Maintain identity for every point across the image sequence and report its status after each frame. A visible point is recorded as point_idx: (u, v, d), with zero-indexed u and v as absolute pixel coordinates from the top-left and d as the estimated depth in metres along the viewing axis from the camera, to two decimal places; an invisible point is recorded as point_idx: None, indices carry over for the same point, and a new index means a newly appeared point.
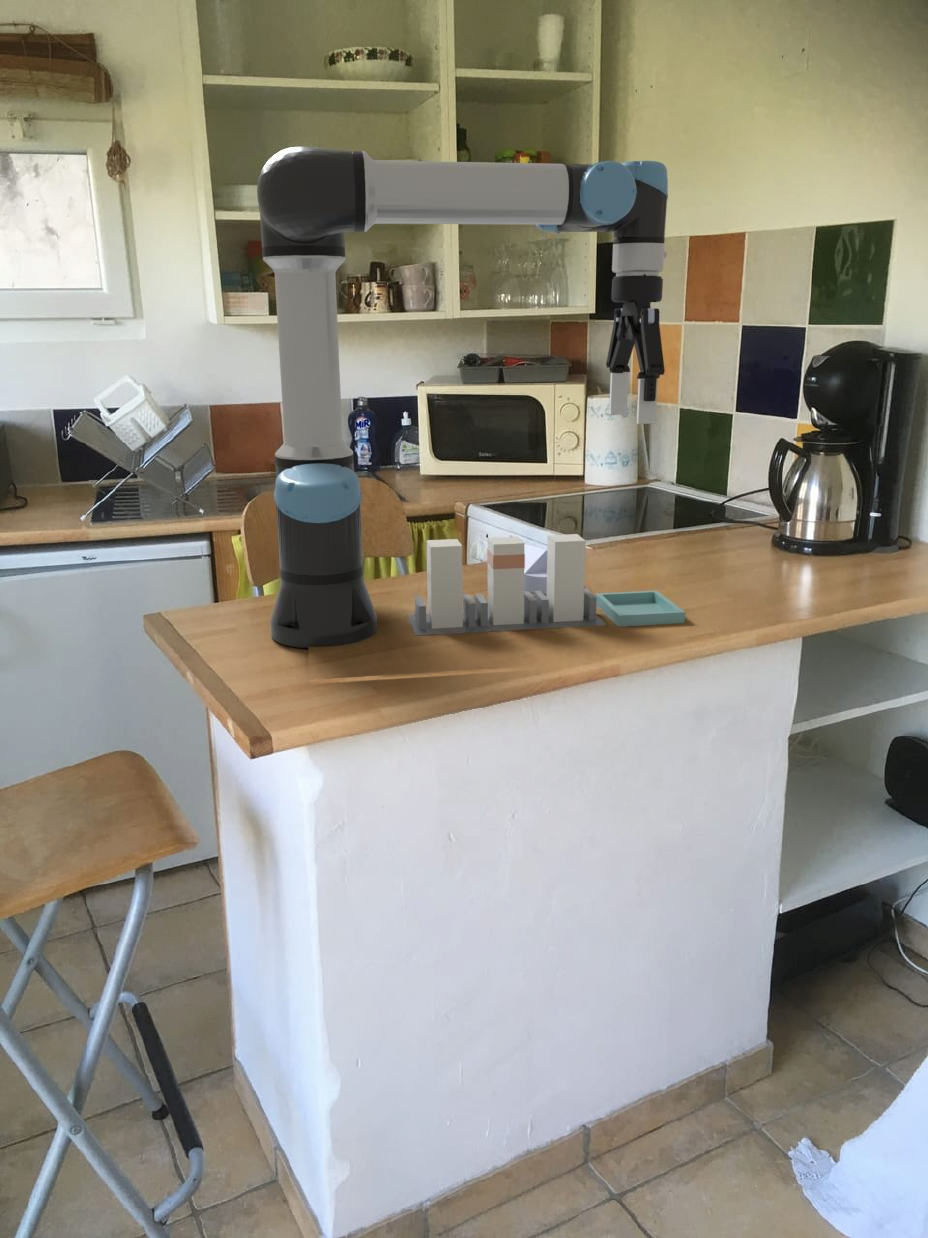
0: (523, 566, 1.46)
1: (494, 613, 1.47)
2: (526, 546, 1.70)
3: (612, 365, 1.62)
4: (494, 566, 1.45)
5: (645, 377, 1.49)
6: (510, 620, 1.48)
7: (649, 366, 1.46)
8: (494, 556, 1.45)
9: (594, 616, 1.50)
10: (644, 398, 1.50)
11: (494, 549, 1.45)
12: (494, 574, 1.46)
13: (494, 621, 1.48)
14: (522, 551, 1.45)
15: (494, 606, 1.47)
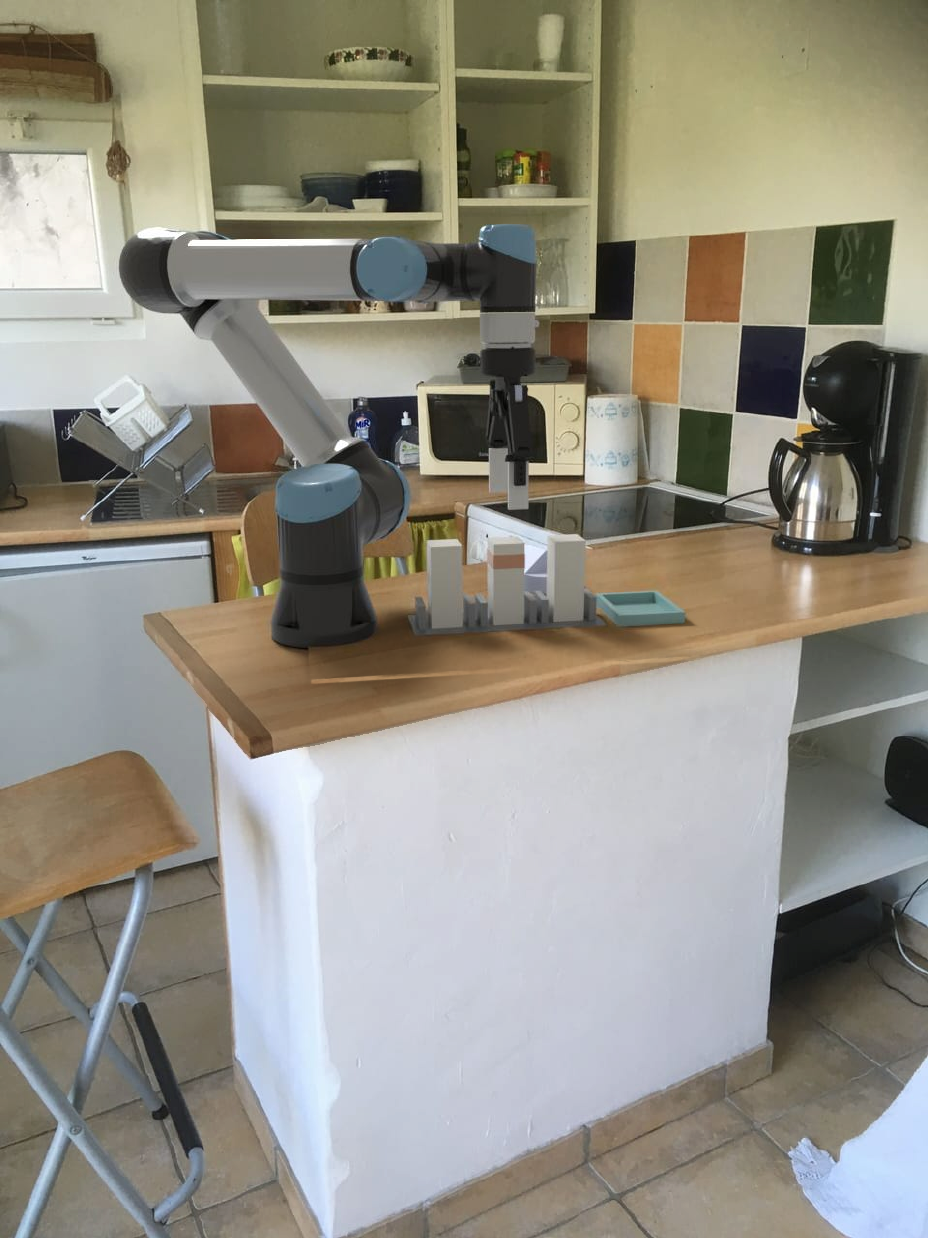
0: (523, 566, 1.46)
1: (494, 613, 1.47)
2: (526, 546, 1.70)
3: (490, 440, 1.49)
4: (494, 566, 1.45)
5: (514, 460, 1.35)
6: (510, 620, 1.48)
7: (516, 449, 1.33)
8: (494, 556, 1.45)
9: (594, 616, 1.50)
10: (514, 482, 1.37)
11: (494, 549, 1.45)
12: (494, 574, 1.46)
13: (494, 621, 1.48)
14: (522, 551, 1.45)
15: (494, 606, 1.47)
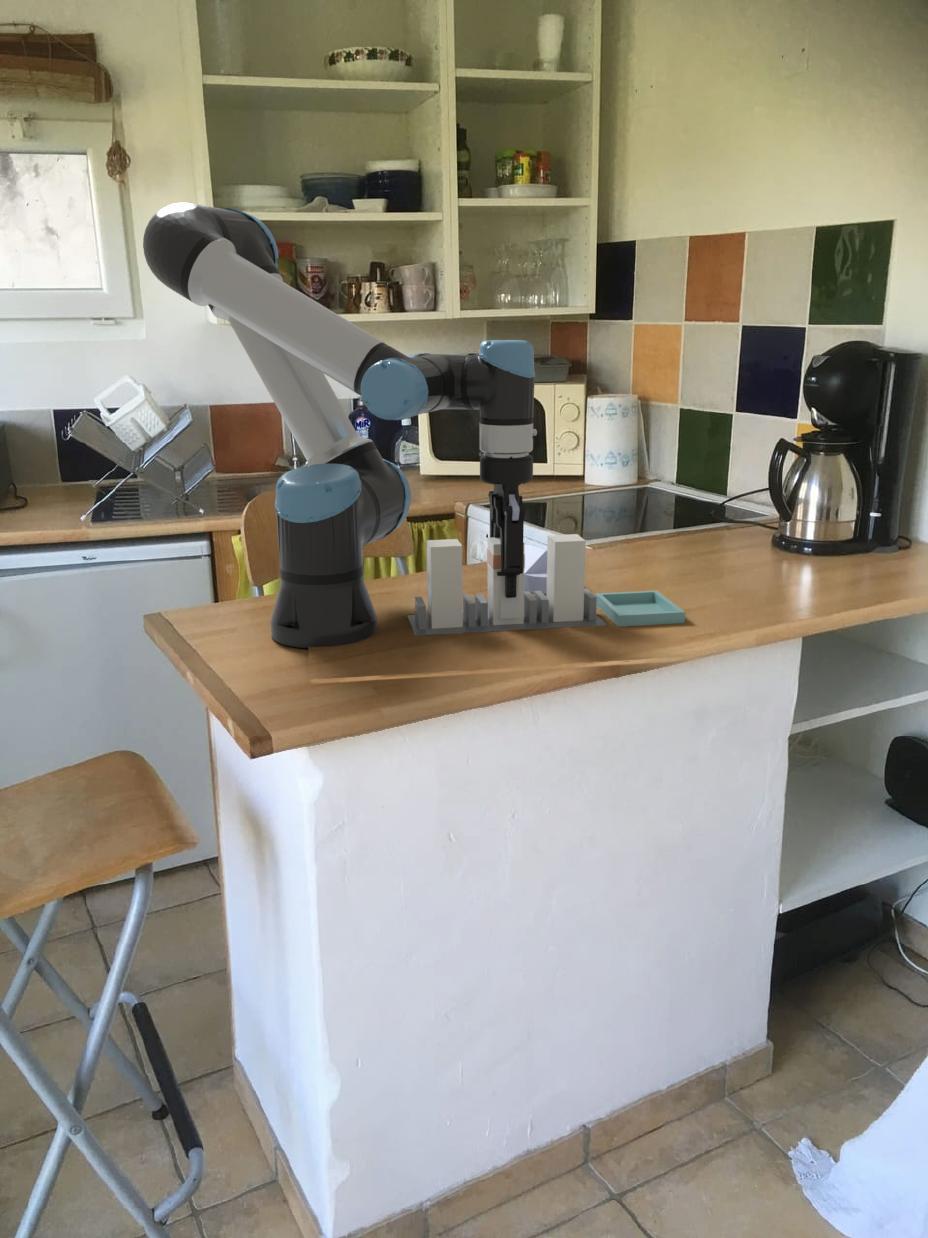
0: (523, 566, 1.46)
1: (494, 613, 1.47)
2: (526, 546, 1.70)
3: None
4: (494, 566, 1.45)
5: (504, 575, 1.44)
6: (510, 620, 1.48)
7: (507, 568, 1.42)
8: (494, 556, 1.45)
9: (594, 616, 1.50)
10: (505, 594, 1.46)
11: (494, 549, 1.45)
12: (494, 574, 1.46)
13: (494, 621, 1.48)
14: None
15: (494, 606, 1.47)
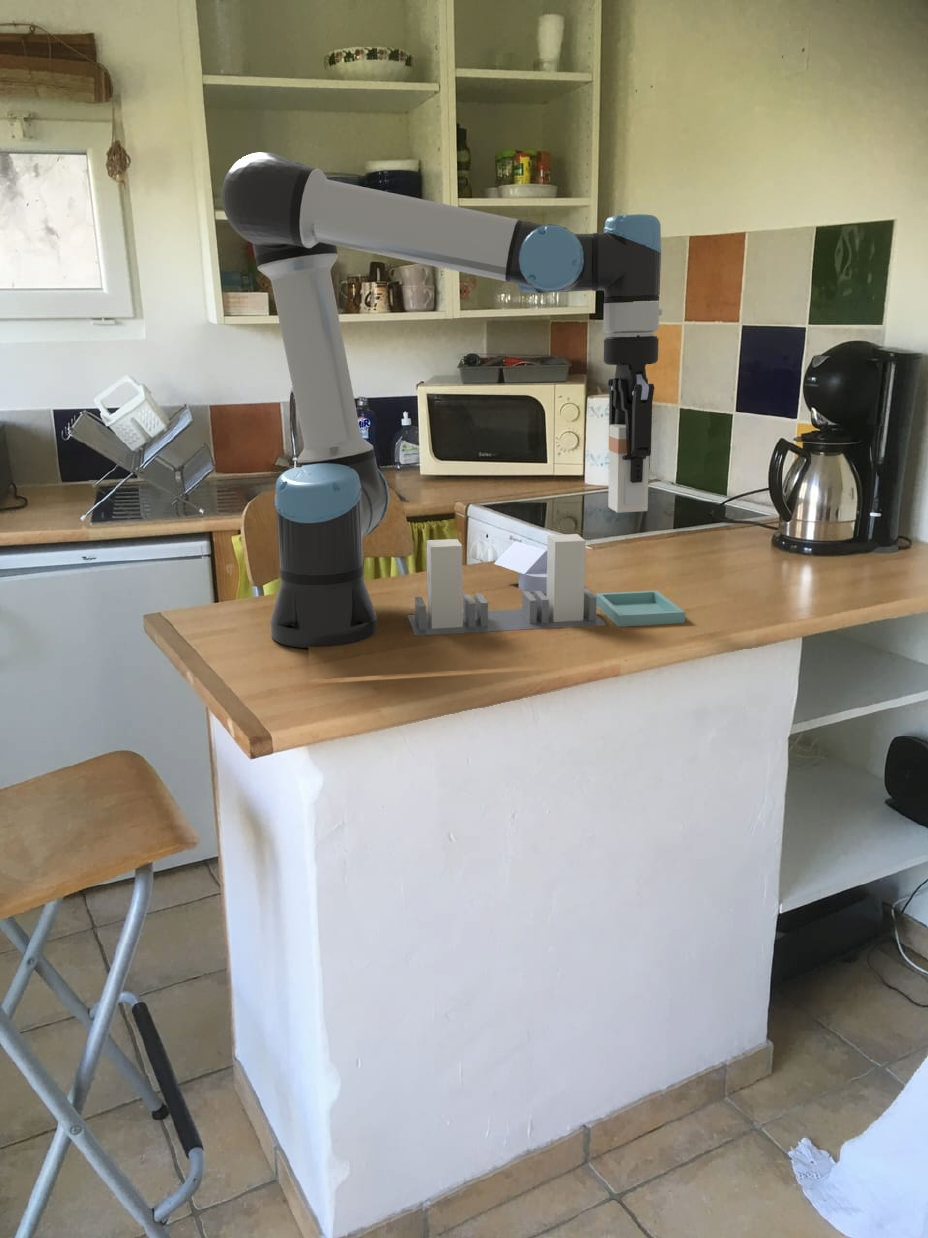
0: None
1: (618, 500, 1.45)
2: (526, 546, 1.70)
3: None
4: (619, 450, 1.43)
5: (631, 459, 1.42)
6: (634, 507, 1.46)
7: (635, 450, 1.40)
8: (619, 440, 1.43)
9: (594, 616, 1.50)
10: (630, 479, 1.44)
11: (619, 433, 1.42)
12: (619, 459, 1.43)
13: (618, 508, 1.46)
14: None
15: (618, 492, 1.45)
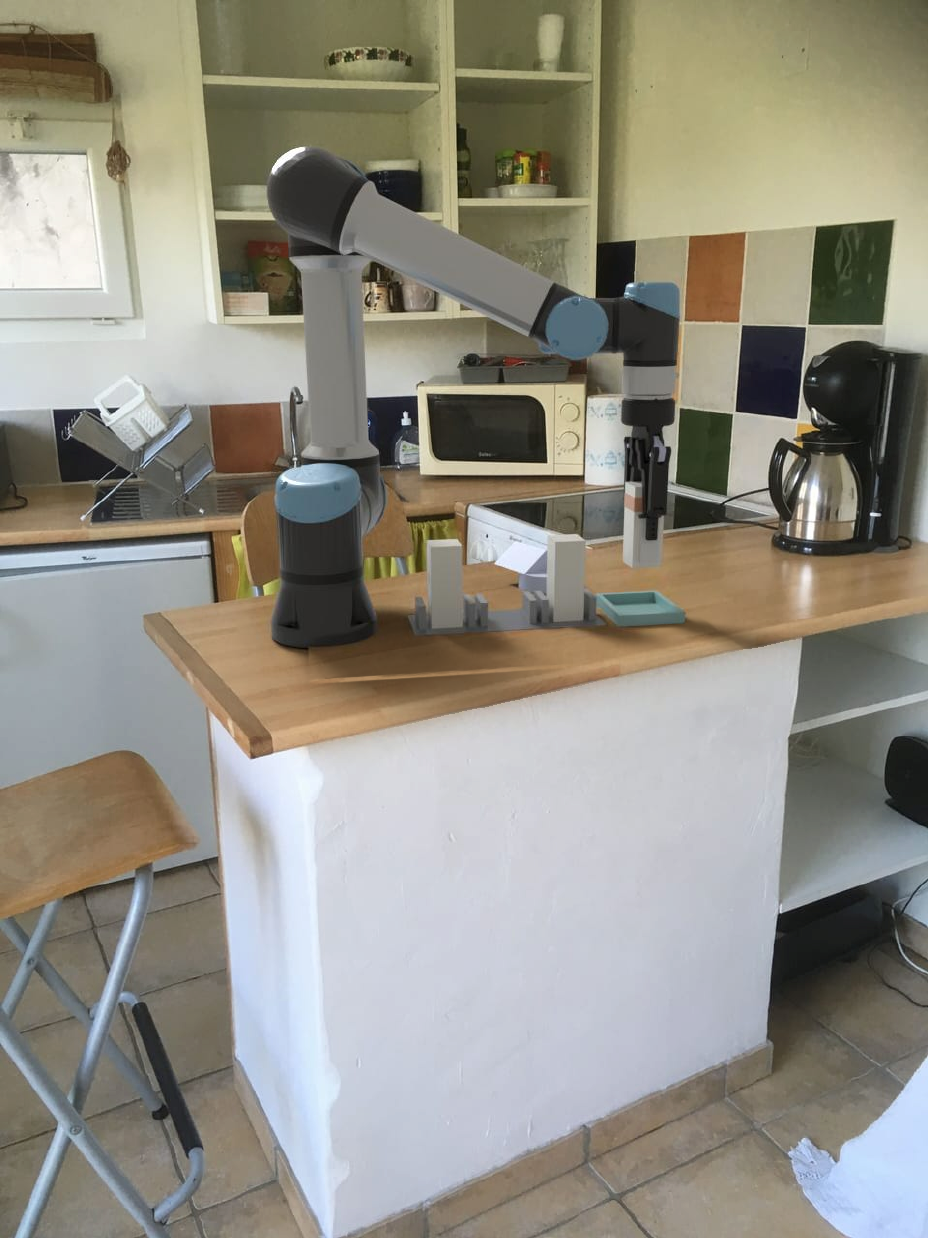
0: None
1: (633, 556, 1.48)
2: (526, 546, 1.70)
3: None
4: (635, 509, 1.46)
5: (646, 518, 1.45)
6: (649, 563, 1.49)
7: (651, 510, 1.43)
8: (635, 498, 1.46)
9: (594, 616, 1.50)
10: (645, 537, 1.47)
11: (635, 491, 1.46)
12: (635, 517, 1.47)
13: (633, 564, 1.49)
14: None
15: (634, 549, 1.48)
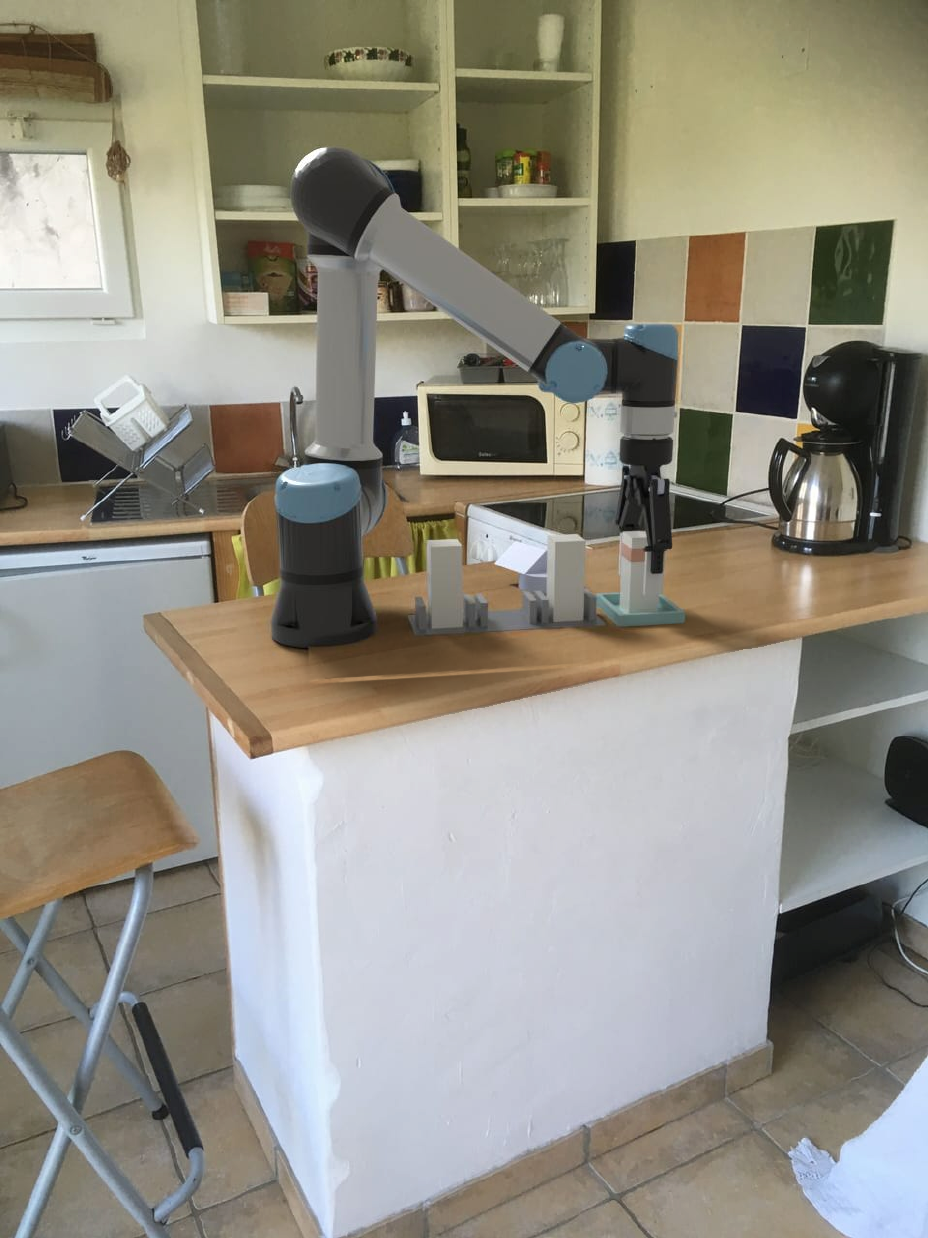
0: None
1: (630, 605, 1.50)
2: (526, 546, 1.70)
3: (621, 524, 1.55)
4: (632, 559, 1.48)
5: (652, 551, 1.43)
6: (645, 612, 1.51)
7: (656, 542, 1.41)
8: (632, 549, 1.48)
9: (594, 616, 1.50)
10: (651, 570, 1.45)
11: (632, 542, 1.48)
12: (631, 567, 1.49)
13: None
14: None
15: (630, 598, 1.50)
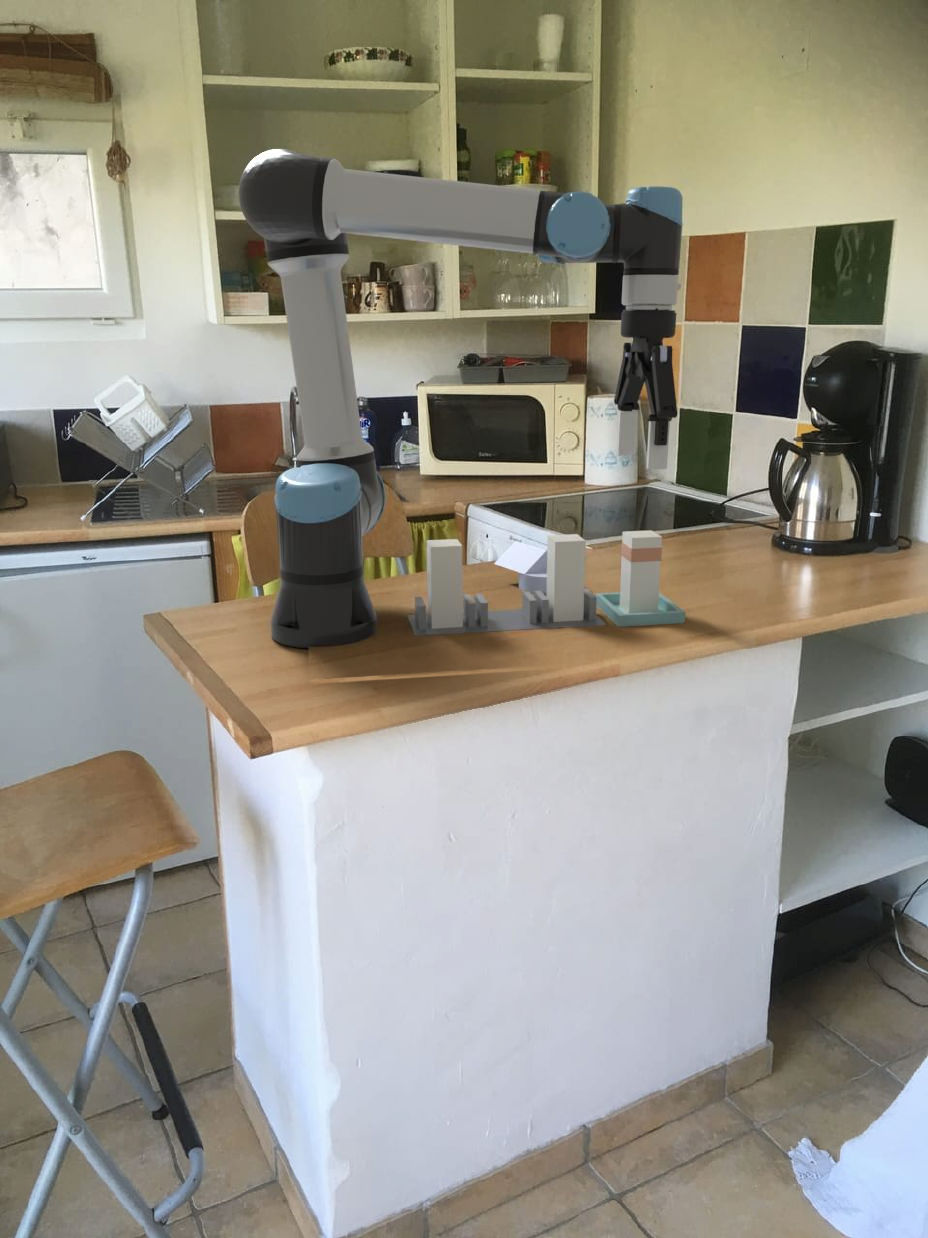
0: (660, 559, 1.49)
1: (630, 605, 1.50)
2: (526, 546, 1.70)
3: (620, 403, 1.51)
4: (632, 559, 1.48)
5: (656, 420, 1.38)
6: (645, 612, 1.51)
7: (661, 408, 1.35)
8: (632, 549, 1.48)
9: (594, 616, 1.50)
10: (654, 442, 1.39)
11: (632, 542, 1.48)
12: (631, 567, 1.49)
13: None
14: (659, 544, 1.48)
15: (630, 598, 1.50)
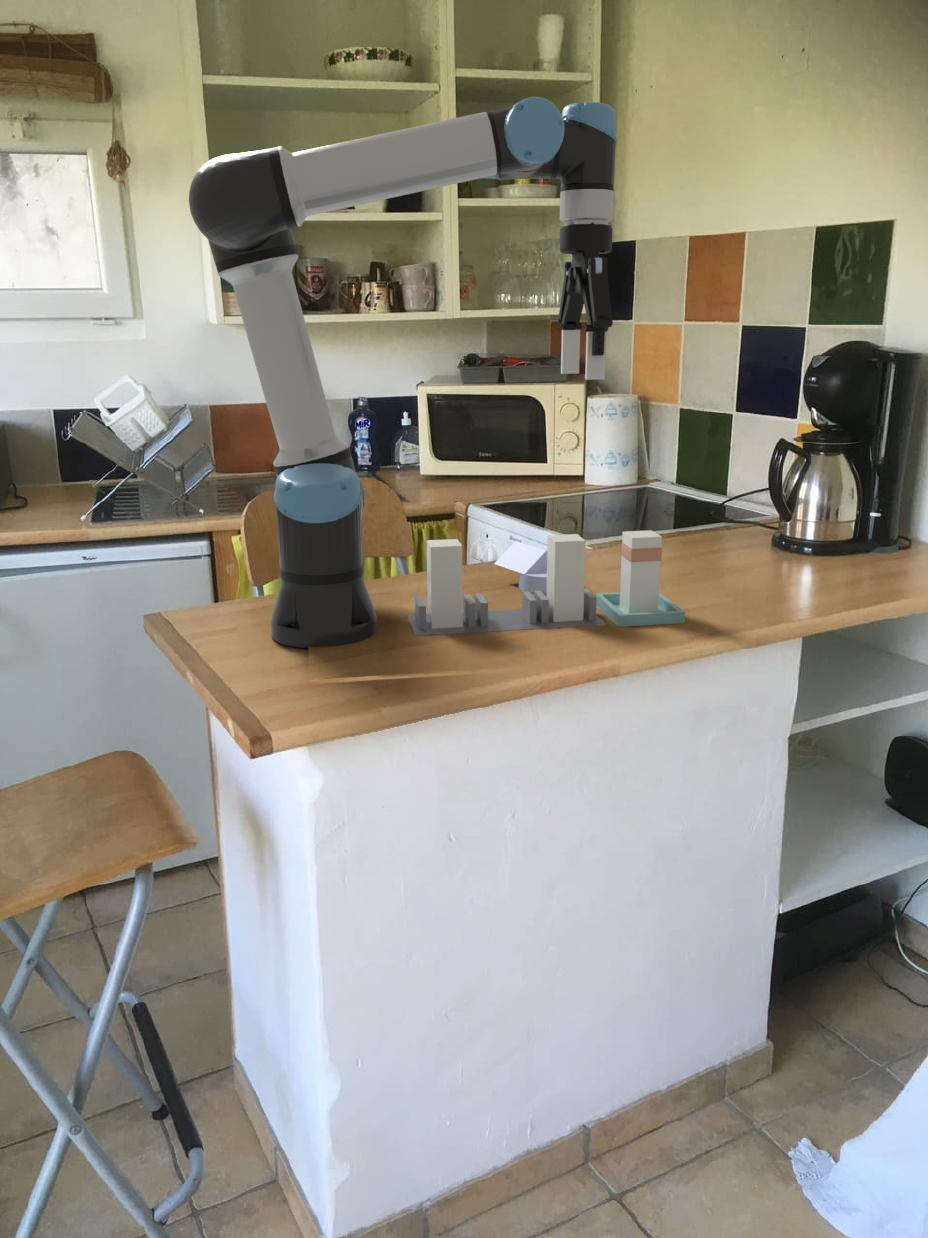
0: (660, 559, 1.49)
1: (630, 605, 1.50)
2: (526, 546, 1.70)
3: (563, 321, 1.56)
4: (632, 559, 1.48)
5: (593, 330, 1.42)
6: (645, 612, 1.51)
7: (596, 318, 1.40)
8: (632, 549, 1.48)
9: (594, 616, 1.50)
10: (592, 352, 1.44)
11: (632, 542, 1.48)
12: (631, 567, 1.49)
13: None
14: (659, 544, 1.48)
15: (630, 598, 1.50)
